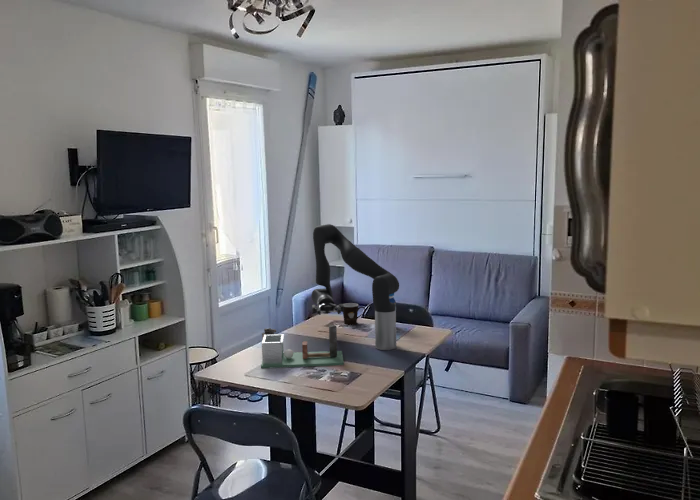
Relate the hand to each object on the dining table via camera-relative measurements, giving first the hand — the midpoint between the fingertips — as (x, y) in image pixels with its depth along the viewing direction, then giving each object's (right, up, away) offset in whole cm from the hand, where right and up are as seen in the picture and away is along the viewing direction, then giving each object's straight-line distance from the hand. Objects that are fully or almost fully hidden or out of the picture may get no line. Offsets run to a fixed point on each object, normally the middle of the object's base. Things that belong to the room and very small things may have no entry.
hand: (329, 312), depth 256 cm
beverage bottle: (+28, -12, +38) cm, 49 cm away
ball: (-17, -17, -10) cm, 26 cm away
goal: (-23, -19, -10) cm, 32 cm away
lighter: (-27, -18, +6) cm, 33 cm away
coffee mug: (+11, -11, +47) cm, 50 cm away
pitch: (-11, -19, -9) cm, 24 cm away
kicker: (-4, -18, -9) cm, 20 cm away
